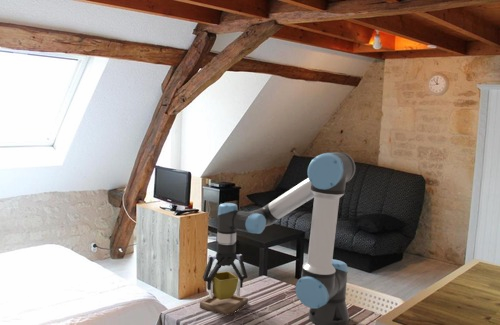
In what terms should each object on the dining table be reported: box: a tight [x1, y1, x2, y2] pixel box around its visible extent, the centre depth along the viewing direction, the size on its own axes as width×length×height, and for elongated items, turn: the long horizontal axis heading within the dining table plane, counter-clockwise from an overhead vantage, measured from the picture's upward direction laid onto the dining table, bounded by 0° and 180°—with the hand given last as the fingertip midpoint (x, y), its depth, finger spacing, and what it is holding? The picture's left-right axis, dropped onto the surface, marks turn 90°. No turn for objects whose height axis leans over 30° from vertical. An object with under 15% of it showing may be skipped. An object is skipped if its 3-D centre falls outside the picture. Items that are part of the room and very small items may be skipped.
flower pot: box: [212, 271, 239, 300], centre depth 186 cm, size 9×9×9 cm
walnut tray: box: [199, 294, 249, 316], centre depth 187 cm, size 14×14×2 cm
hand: (224, 296), depth 187 cm, fingers open, 10 cm apart
